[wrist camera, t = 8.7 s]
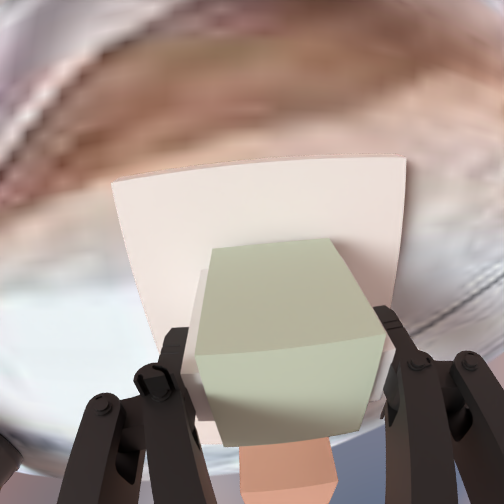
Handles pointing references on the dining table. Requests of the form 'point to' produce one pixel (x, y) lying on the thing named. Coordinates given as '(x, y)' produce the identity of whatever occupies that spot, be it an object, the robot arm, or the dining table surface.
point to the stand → (252, 233)
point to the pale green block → (286, 343)
